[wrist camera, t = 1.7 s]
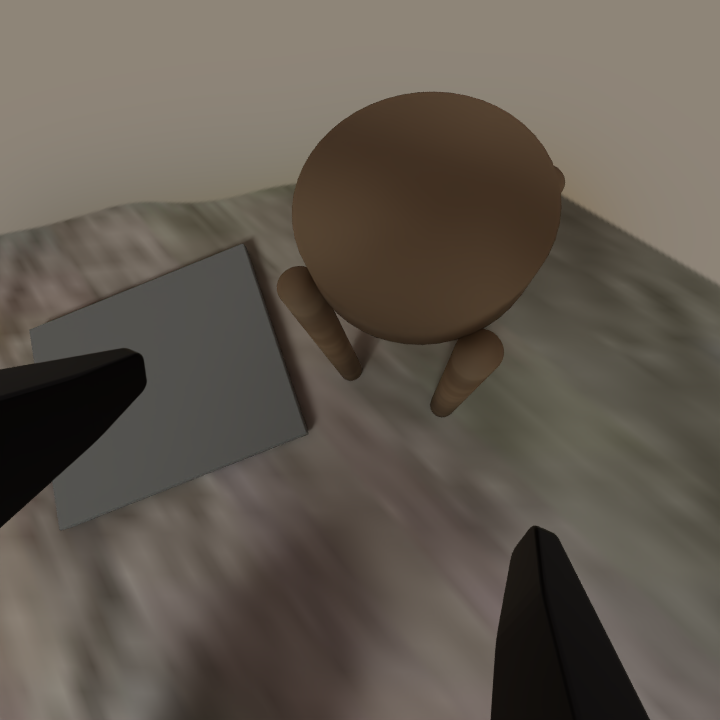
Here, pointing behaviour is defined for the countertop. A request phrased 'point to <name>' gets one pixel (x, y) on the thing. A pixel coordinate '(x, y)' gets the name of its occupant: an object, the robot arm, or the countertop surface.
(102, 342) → the mat
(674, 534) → the countertop surface
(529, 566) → the robot arm
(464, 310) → the stool
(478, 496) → the countertop surface
